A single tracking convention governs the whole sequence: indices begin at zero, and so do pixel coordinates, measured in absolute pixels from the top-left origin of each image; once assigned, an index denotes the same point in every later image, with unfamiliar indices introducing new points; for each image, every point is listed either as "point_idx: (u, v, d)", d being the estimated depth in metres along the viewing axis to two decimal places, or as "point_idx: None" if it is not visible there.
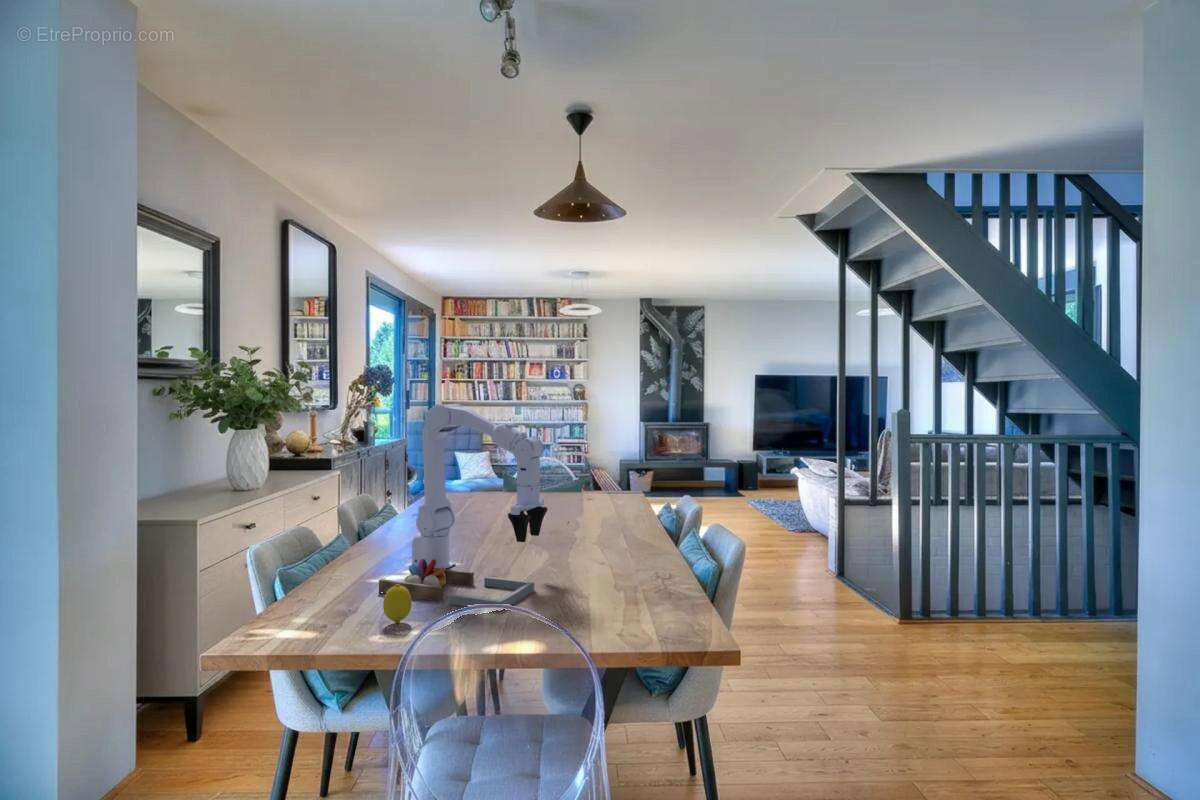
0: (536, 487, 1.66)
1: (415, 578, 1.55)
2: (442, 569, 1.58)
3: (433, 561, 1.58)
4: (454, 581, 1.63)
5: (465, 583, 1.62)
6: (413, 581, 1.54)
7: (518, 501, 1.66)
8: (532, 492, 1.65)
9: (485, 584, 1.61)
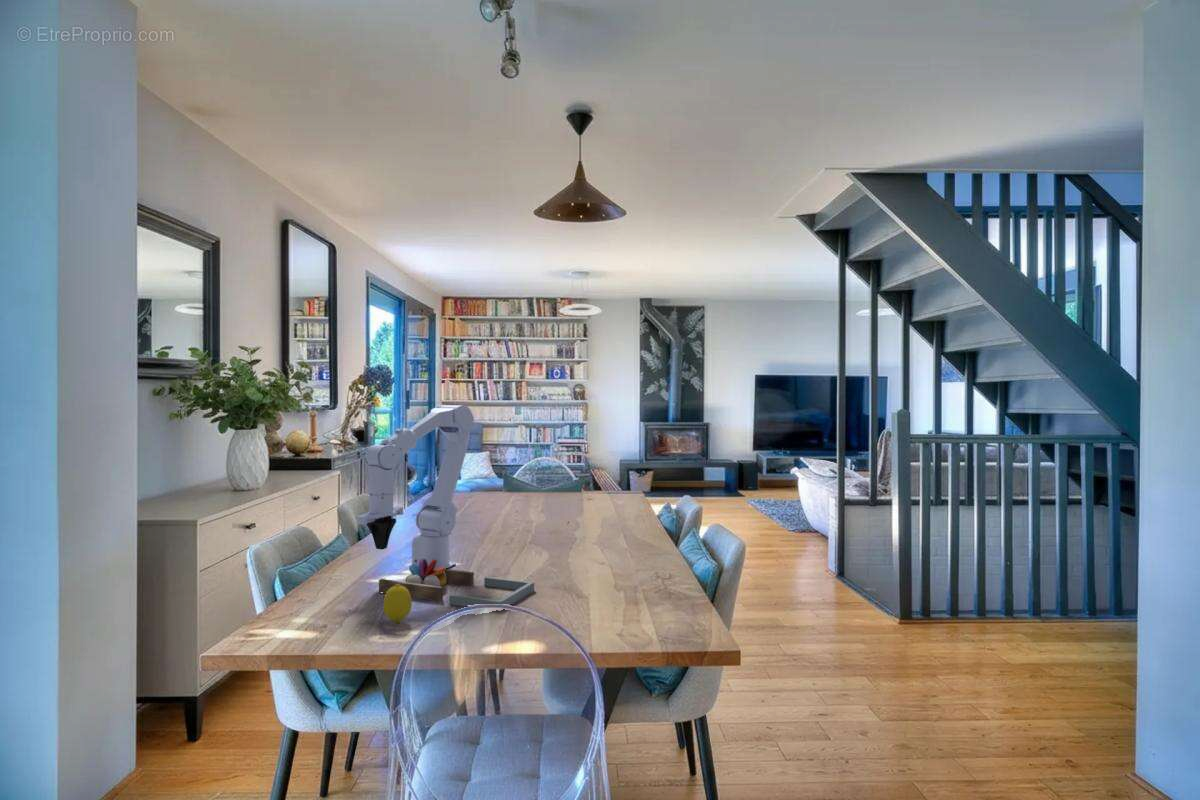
0: (388, 496, 1.61)
1: (415, 578, 1.55)
2: (442, 569, 1.58)
3: (433, 561, 1.58)
4: (454, 581, 1.63)
5: (465, 583, 1.62)
6: (414, 581, 1.55)
7: (369, 510, 1.61)
8: (383, 500, 1.61)
9: (485, 584, 1.61)
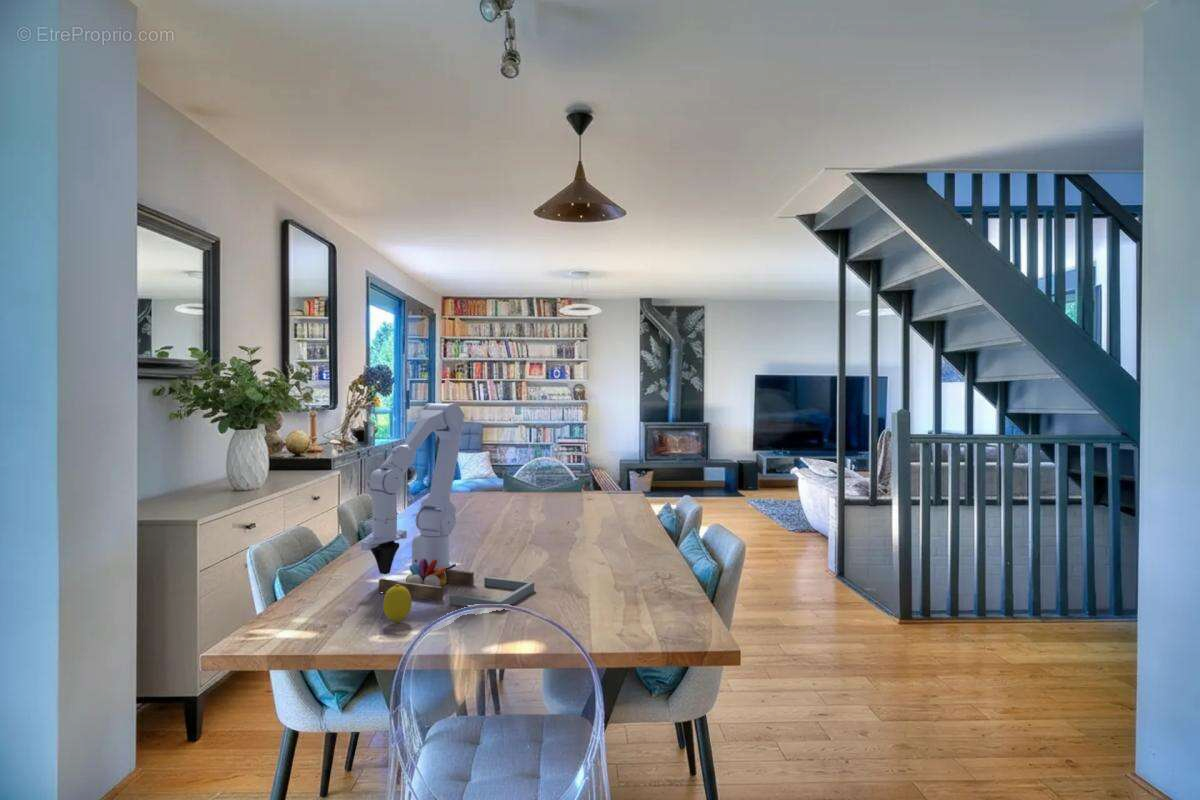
0: (391, 521, 1.61)
1: (416, 578, 1.55)
2: (443, 569, 1.58)
3: (434, 561, 1.58)
4: (454, 581, 1.63)
5: (465, 583, 1.62)
6: (414, 581, 1.55)
7: (373, 535, 1.61)
8: (387, 525, 1.60)
9: (485, 584, 1.61)
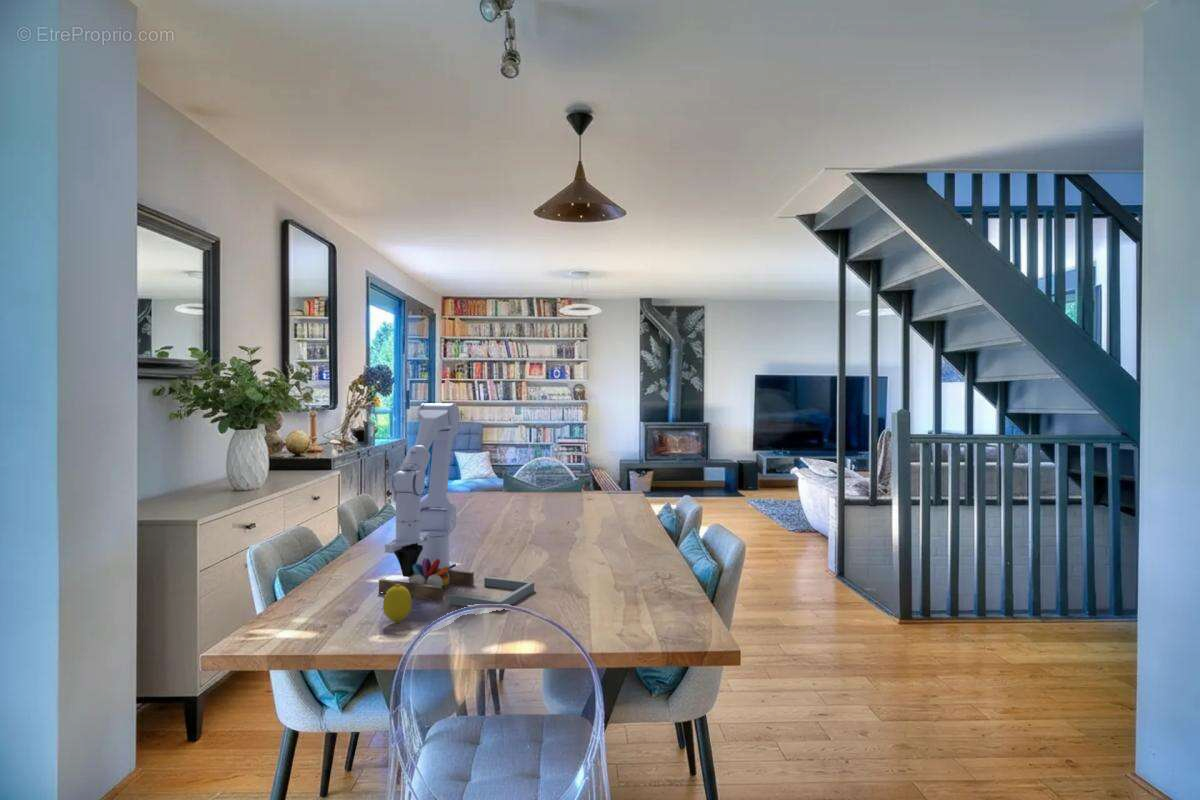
0: (415, 523, 1.58)
1: (419, 577, 1.55)
2: (446, 568, 1.58)
3: (437, 560, 1.58)
4: (454, 581, 1.63)
5: (465, 583, 1.62)
6: (417, 580, 1.55)
7: (396, 537, 1.59)
8: (410, 528, 1.58)
9: (485, 584, 1.61)
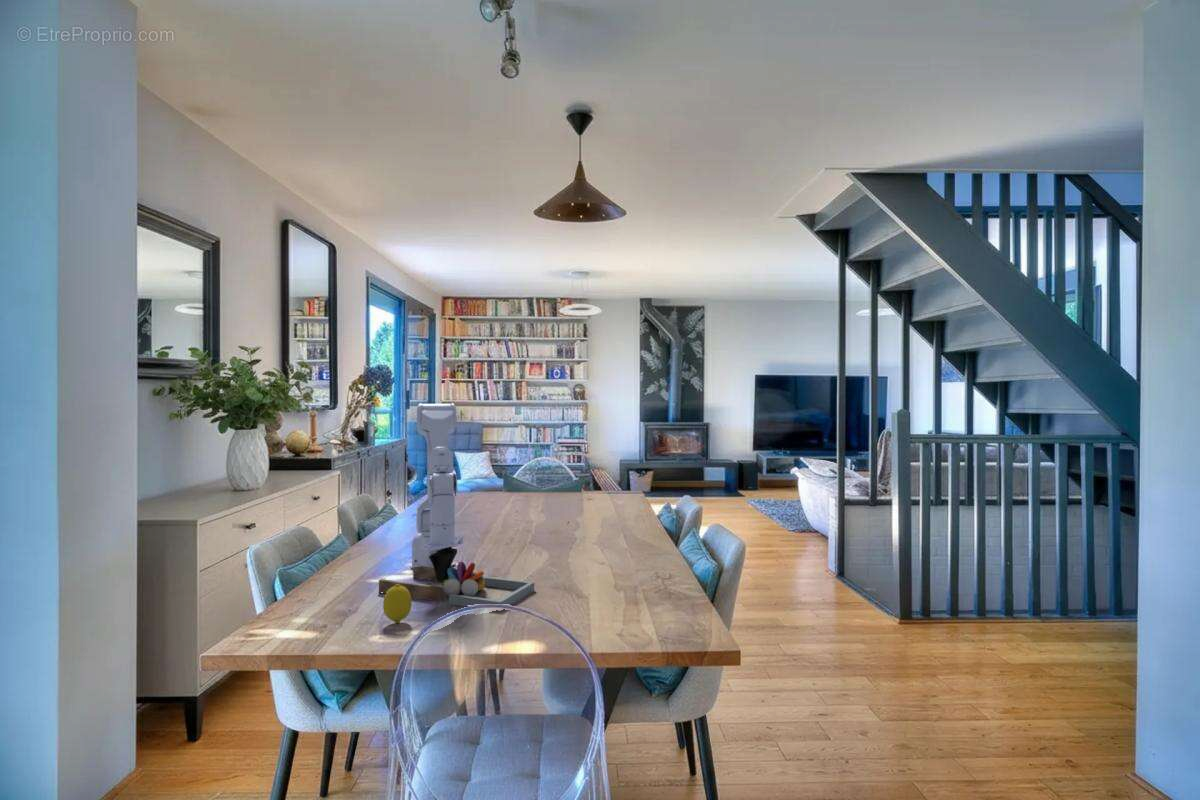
0: (450, 526, 1.55)
1: (453, 582, 1.52)
2: (481, 573, 1.54)
3: (472, 564, 1.54)
4: None
5: None
6: (452, 585, 1.51)
7: (431, 541, 1.55)
8: (445, 531, 1.54)
9: (485, 584, 1.61)
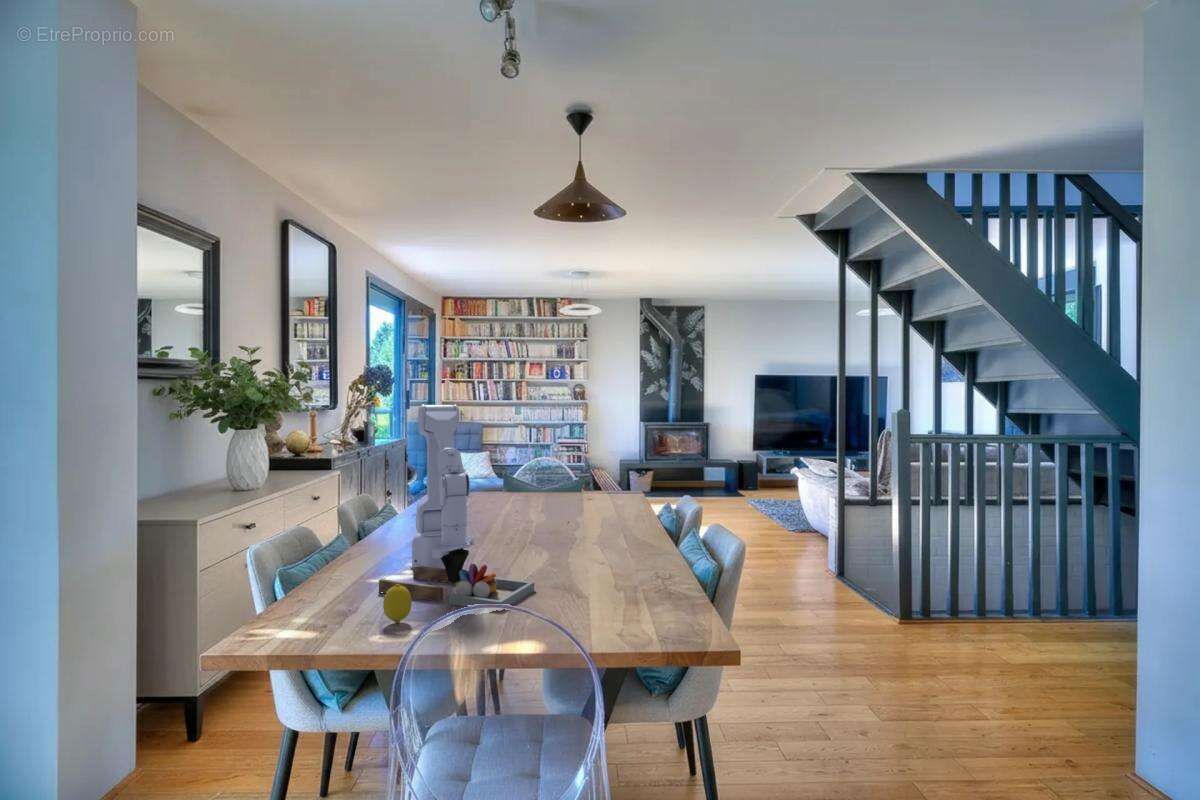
0: (462, 527, 1.54)
1: (465, 584, 1.51)
2: (493, 575, 1.53)
3: (484, 567, 1.53)
4: None
5: None
6: (463, 587, 1.50)
7: (442, 542, 1.54)
8: (457, 532, 1.53)
9: None
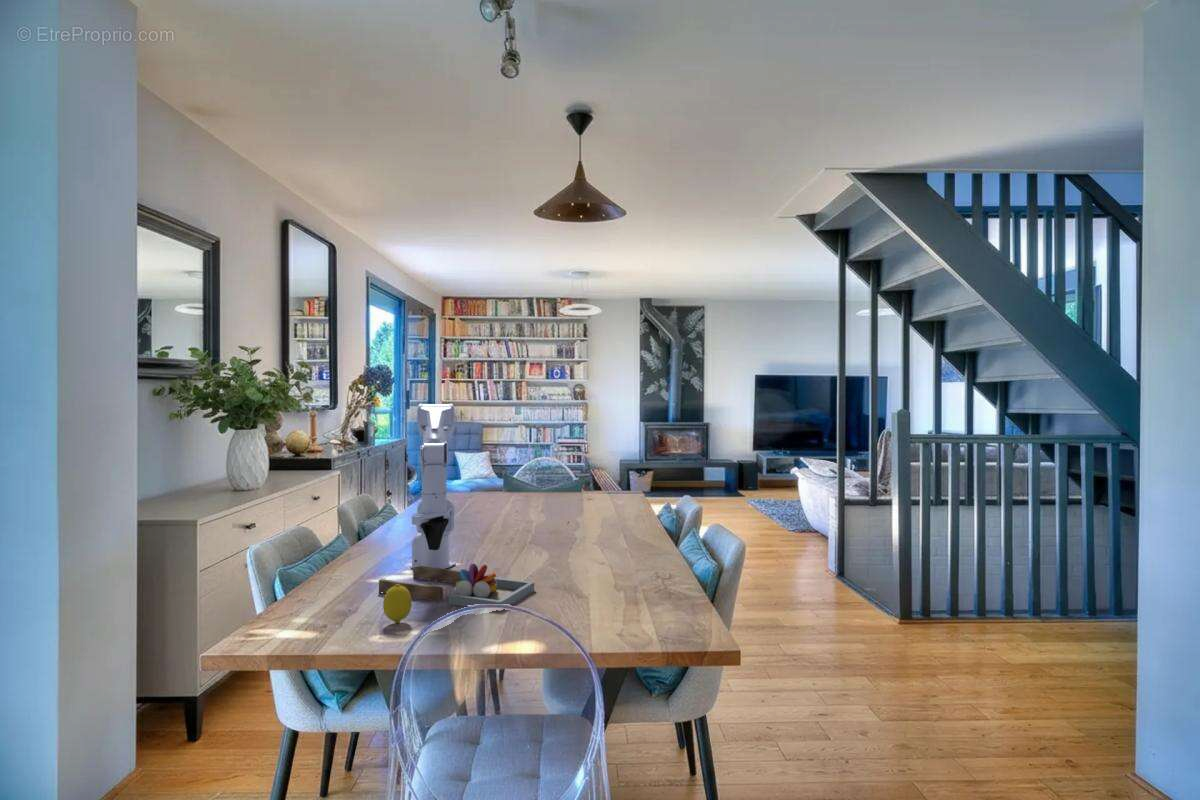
0: (441, 495, 1.57)
1: (465, 584, 1.51)
2: (493, 575, 1.53)
3: (484, 566, 1.53)
4: (454, 581, 1.63)
5: None
6: (464, 587, 1.50)
7: (422, 510, 1.57)
8: (437, 500, 1.56)
9: None
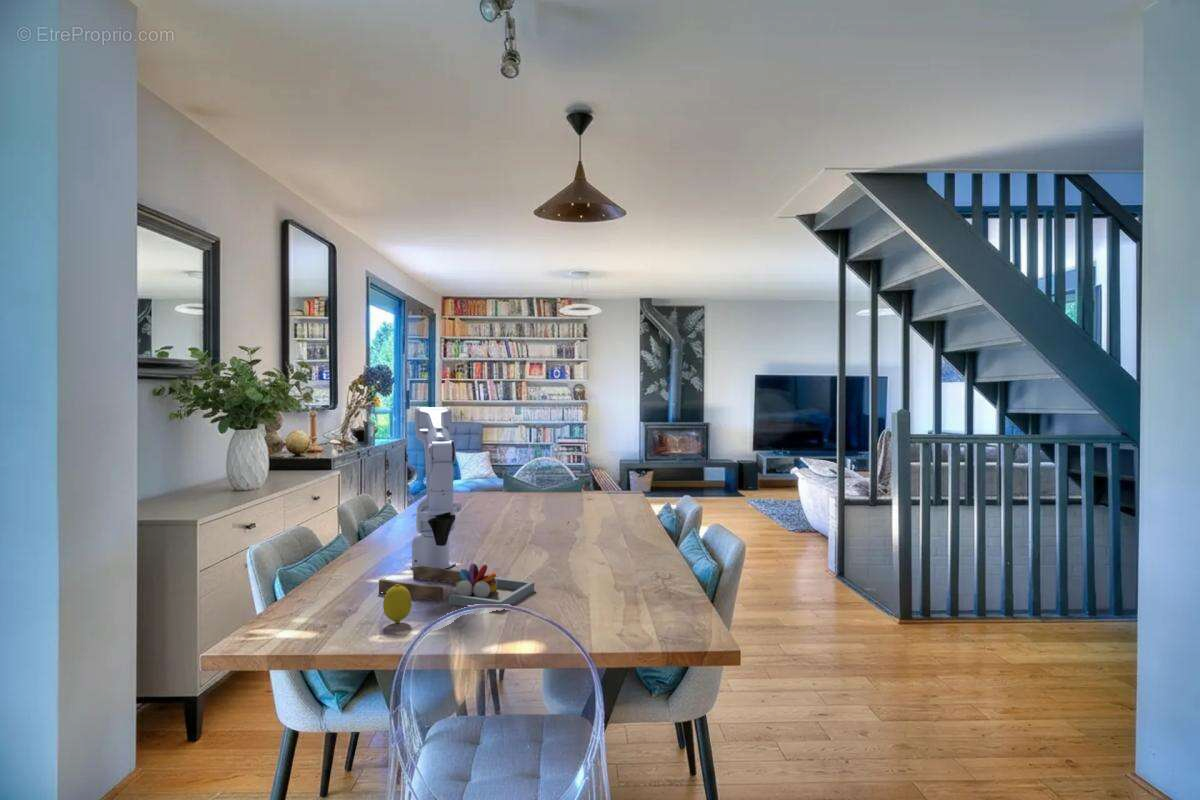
0: (448, 492, 1.61)
1: (465, 583, 1.51)
2: (493, 575, 1.53)
3: (484, 566, 1.53)
4: (454, 581, 1.63)
5: None
6: (464, 587, 1.50)
7: (430, 507, 1.61)
8: (444, 497, 1.60)
9: None
